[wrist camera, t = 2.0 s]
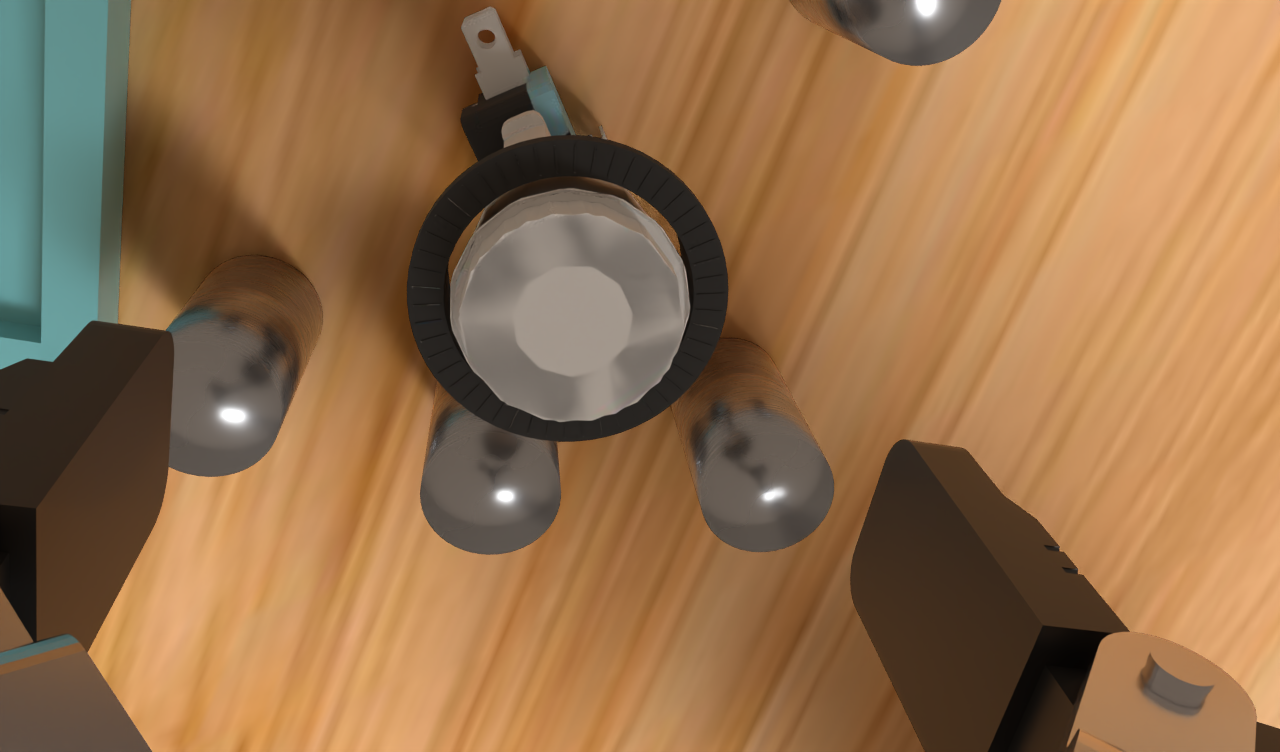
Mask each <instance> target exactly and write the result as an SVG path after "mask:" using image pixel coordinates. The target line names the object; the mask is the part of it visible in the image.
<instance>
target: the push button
mask: <svg viewBox="0 0 1280 752" xmlns="http://www.w3.org/2000/svg"><path fill="white" fill-rule="evenodd" d="M461 30H462V32H463V34H464V36H465V38H466V41H467V43H468V45H469V47H470V49H471V52H472V54H473V56H474V58H475V60H476V63H477V65H478V67H477V68H476V70H477V72H478V73H477V74H475V77H476V79H477V81H478V84H479V86H480V88H481V90H482V92H483V93H481V94H479V98H478V102H477V103H475V104H473V105H470V106H468V107H466V108H463V110H462V114H461V119H460V120H461V124H462V127H463V130H464V132H465V134H466V136H467V139H468V141H469V143H470V145H471V147H472V149H473V151H474V153H475V156H476V158H477V160H478V162H477V163H475V164H474V165H472V166H471V167H470V168H468V169H467V170H466V171H465V172H463V173H462V174H461V175H460V176H458V177H457V178H456V179H455V180H454V181H453V182H452V183H451V184H450V185H449V186H448V187H447V188H446V190H445V191H444V192H443V193H442V195H441V196H440V197H439V198H438V200H437V201H436V202H435V204H434V205H433V207H432V209H431V210H430V212H429V213H428V215H427V217H426V219H425V221H424V223H423V225H422V227H421V229H420V231H419V234H418V237H417V240H416V243H415V245H414V249H413V252H412V257H411V261H410V266H409V271H408V281H407V305H408V313H409V319H410V323H411V328H412V332H413V335H414V338H415V341H416V343H417V346H418V349H419V351H420V353H421V355H422V357H423V359H424V361H425V363H426V364H427V366H428V367H429V369H430V371H431V372H432V374H433V375H434V377H435V378H436V379H437V380H438V382H439V383H440V384H441V385H442V387H443V388H444V389H445V390H446V391H447V392H448V393H449V394H450V395H451V396H452V397H453V398H454V399H455V400H456V401H457V402H458V403H460V404H461V405H462V406H463V407H465V408H466V409H467V410H468V411H470V412H471V413H473V414H474V415H476V416H477V417H479V418H481V419H482V420H484V421H486V422H488V423H490V424H492V425H494V426H496V427H498V428H501V429H503V430H506V431H508V432H511V433H514V434H517V435H521V436H524V437H529V438H534V439H539V440H547V441H558V442H574V441H585V440H593V439H598V438H603V437H607V436H611V435H614V434H618V433H621V432H624V431H626V430H629V429H631V428H634V427H636V426H638V425H640V424H642V423H644V422H646V421H648V420H650V419H651V418H653V417H655V416H656V415H658V414H659V413H661V412H662V411H664V410H665V409H666V408H668V407H669V406H670V405H671V404H673V403H674V402H675V401H677V400H678V399H679V398H680V397H681V396H682V395H683V394H684V393H685V392H686V391H687V390H688V389H689V388H690V386H691V385H692V384H693V383H694V382H695V380H696V379H697V378H698V377H699V375H700V374H701V372H702V371H703V369H704V368H705V366H706V365H707V363H708V361H709V360H710V358H711V356H712V354H713V352H714V350H715V348H716V345H717V343H718V340H719V338H720V335H721V332H722V328H723V325H724V321H725V316H726V310H727V303H728V274H727V268H726V262H725V257H724V253H723V249H722V246H721V242H720V240H719V238H718V235H717V233H716V230H715V228H714V226H713V224H712V222H711V220H710V219H709V217H708V215H707V213H706V211H705V210H704V208H703V206H702V205H701V204H700V202H699V201H698V199H697V198H696V196H695V195H694V194H693V193H692V191H691V190H690V189H689V188H688V187H687V186H686V185H685V184H684V182H683V181H682V180H680V179H679V178H678V177H677V176H676V175H675V174H674V173H673V172H672V171H671V170H669V169H668V168H666V167H665V166H664V165H662V164H661V163H659V162H658V161H657V160H655V159H653V158H651V157H650V156H648V155H646V154H644V153H643V152H641V151H638V150H636V149H634V148H631V147H629V146H627V145H624V144H621V143H617V142H614V141H611V140H608V139H607V137H606V135H605V132H604V130H603V127H602V125H601V126H599V129H600V132H601V135H602V138H597V137H593V136H592V135H588V136H580V135H576V134H575V132H574V130H573V127H572V125H571V123H570V120H569V118H568V115H567V113H566V111H565V108H564V106H563V104H562V101H561V99H560V97H559V94H558V92H557V90H556V87H555V85H554V83H553V80H552V78H551V76H550V73H549V71H548V69H547V67H546V66H544V67H541V68H539V69H537V70H534V71H532V72H530V71H529V68H528V66H527V64H526V62H525V59H524V57H523V55H522V52H521V50H520V49H519V50H517V51H513V48H512V46H511V44H510V41H509V39H508V37H507V35H506V32H505V30H504V28H503V25H502V23H501V21H500V18H499V16H498V14H497V12H496V9H495V8H493V7H488V8H485V9H483V10H481V11H478V12H476V13H474V14H472V15H469V16H467V17H465V18H464V21H463V24H462V26H461ZM482 30H489V31H491V32H493V34H494V35H495V39H494V41H493V42H491V43H484V42H482V41H481V40H480V39H479V37H478V33H479V32H480V31H482ZM628 190H629V191H632V192H633V193H635V194H636V195H638V196H640V197H641V198H643V199H645V200H646V201H647V202H648V203H650V204H651V205H652V206H653V207H655V208H656V209H657V210H658V211H659V212H660V213H661V214H662V215H663V216H664V217H665V218H666V219H667V221H668V222H669V223H670V225H671V226H672V227H673V229H674V230H675V231H676V233H677V236H678V240H679V244H680V251H681V257H680V255H679V254H678V252H677V250H676V249H675V247H674V245H673V244H672V242H671V241H670V239H669V237H668V236H667V234H666V233H665V231H664V229H663V228H662V227H661V226H660V225H659V224H658V223H657V222H656V221H655V220H653V219H652V218H650V217H649V216H648V215H647V213H646V212H645V211H644V210H643V209H642V207H641V206H640V205H639V204H638V202H637V201H636V200H635V199H634V197H633V196H632V195H631V194H630V192H629V191H628ZM483 208H485V209H484V211H483V213H482V216H481V218H480V220H479V222H478V225H477V227H476V229H475V232H474V234H473V236H472V237H471V238H470V240H469V242H468V244H467V246H466V248H465V250H464V252H463V254H462V256H461V258H460V260H459V262H458V264H457V266H456V268H455V270H454V272H453V276H452V280H451V288H450V284H449V274H448V262H449V258H450V256H451V253H452V251H453V249H454V247H455V244H456V243H457V241H458V239H459V237H460V236H461V234H462V232H463V231H464V230H465V228H466V227H467V226H468V224H469V223H470V222H471V221H472V219H473V218H474V217H475V216H476V215H477V214H478V213H479V212H480V211H481V210H482V209H483Z"/></svg>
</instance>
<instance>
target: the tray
mask: <svg viewBox="0 0 1280 752" xmlns="http://www.w3.org/2000/svg"><path fill="white" fill-rule="evenodd" d="M130 15H131V0H0V369H3V368H5V367H7V366H10V365H12V364H15V363H17V362H19V361H22V360H24V359H27V358H29V359H36V360H44V361H51V362H53V361H54V360H55V359H56V358H57V357H58V356H59V355H60V354H61V353H62V351H63V350H64V349H65V348H66V347H67V346H68V345H69V344H70V343H71V342H72V340H73V339H74V338H75V337H76V336H77V335H78V334H79V333H80V332H81V331H82V329H83V328H84V327H85V326H86V325H87V324H88V323H89V322H90V321H93V320H95V321H102V322H109V323H116V324H118V304H119V280H120V256H121V231H122V207H123V183H124V159H125V135H126V111H127V87H128V63H129V39H130Z"/></svg>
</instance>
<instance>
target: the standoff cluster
mask: <svg viewBox="0 0 1280 752" xmlns="http://www.w3.org/2000/svg"><path fill="white" fill-rule="evenodd" d="M790 1H791V3H792V5H793V6H794V7H795V8H796V10H797V11H798V12H799V13H800V14H801V15H802V16H804V17H805V18H806V19H808V20H809V21H811V22H813V23H815V24H817V25H819V26H821V27H823V28H825V29H827V30H829V31H831V32H833V33H835V34H837V35H839V36H841V37H843V38H846V39H848V40H850V41H852V42H854V43H856V44H858V45H860V46H862V47H864V48H866V49H868V50H870V51H872V52H874V53H876V54H878V55H880V56H883V57H885V58H887V59H889V60H891V61H893V62H897V63H900V64H905V65H911V66H922V65H930V64H935V63H939V62H942V61H945V60H947V59H950V58H952V57H954V56H955V55H957V54H959V53H961V52H962V51H964V50H965V49H966V48H968V47H969V46H970V45H971V44H973V43H974V42H975V41H976V40H977V39H978V38H979V37H980V36H981V34H982V33H983V32H984V31H985V30H986V28H987V27H988V25H989V24H990V23H991V21H992V19H993V18H994V16H995V14H996V12H997V10H998V7H999V5H1000V2H1001V0H790ZM322 324H323V313H322V306H321V302H320V299H319V297H318V294H317V293H316V291H315V289H314V287H313V286H312V284H311V283H310V282H309V281H308V279H307V278H306V277H305V276H304V275H303V274H302V273H300V272H299V271H298V270H297V269H295V268H294V267H292V266H291V265H289V264H287V263H285V262H283V261H280V260H278V259H275V258H271V257H267V256H259V255H248V256H241V257H237V258H233V259H231V260H228V261H226V262H224V263H222V264H221V265H219V266H218V267H216V268H215V269H214V270H213V271H212V272H211V273H210V274H209V275H208V276H207V277H206V279H205V280H204V281H203V282H202V284H201V285H200V286H199V288H198V289H197V290H196V292H195V293H194V294H193V295H192V297H191V298H190V299H189V301H188V302H187V303H186V305H185V306H184V307H183V309H182V310H181V311H180V312H179V314H178V315H177V316H176V318H175V319H174V320H173V322H172V323H171V324H170V325H169V327H168V328H167V329H166V331H169V332H170V333H171V334H172V337H173V342H174V371H173V390H172V410H171V429H170V449H169V466H168V467H170V468H173V469H175V470H178V471H180V472H184V473H187V474H191V475H196V476H206V477H216V476H225V475H230V474H234V473H237V472H240V471H242V470H245V469H247V468H249V467H250V466H252V465H254V464H255V463H256V462H258V461H259V460H260V459H261V458H262V457H263V456H265V455H266V454H267V452H268V451H269V450H270V448H271V447H272V445H273V443H274V441H275V439H276V437H277V435H278V432H279V430H280V428H281V425H282V423H283V421H284V418H285V416H286V414H287V411H288V409H289V406H290V404H291V402H292V399H293V397H294V395H295V392H296V390H297V388H298V385H299V383H300V380H301V378H302V376H303V373H304V371H305V369H306V366H307V364H308V362H309V359H310V357H311V354H312V352H313V350H314V347H315V345H316V343H317V340H318V338H319V335H320V332H321V329H322ZM671 408H672V412H673V415H674V418H675V422H676V425H677V428H678V432H679V435H680V439H681V442H682V445H683V449H684V452H685V455H686V459H687V462H688V465H689V469H690V472H691V476H692V479H693V482H694V486H695V489H696V492H697V496H698V499H699V502H700V506H701V509H702V513H703V516H704V518H705V521H706V523H707V524H708V526H709V528H710V529H711V530H712V531H713V533H714V534H715V535H716V536H717V537H718V538H720V539H721V540H722V541H724V542H725V543H727V544H729V545H731V546H733V547H735V548H738V549H741V550H746V551H751V552H769V551H776V550H779V549H783V548H786V547H789V546H791V545H793V544H795V543H797V542H799V541H801V540H802V539H804V538H806V537H807V536H808V535H809V534H811V533H812V532H813V531H814V530H815V529H816V528H817V527H818V526H819V525H820V523H821V522H822V521H823V519H824V518H825V516H826V515H827V513H828V511H829V508H830V506H831V503H832V499H833V494H834V480H833V474H832V471H831V469H830V466H829V464H828V463H827V461H826V459H825V457H824V455H823V453H822V451H821V449H820V448H819V446H818V444H817V442H816V440H815V438H814V436H813V435H812V433H811V431H810V429H809V427H808V425H807V423H806V421H805V420H804V418H803V416H802V414H801V412H800V410H799V408H798V407H797V405H796V403H795V401H794V399H793V397H792V395H791V394H790V392H789V390H788V388H787V386H786V384H785V382H784V380H783V379H782V377H781V375H780V373H779V371H778V369H777V367H776V366H775V364H774V362H773V360H772V359H771V357H770V356H769V355H768V354H767V353H766V352H765V351H764V350H763V349H761V348H760V347H759V346H757V345H755V344H753V343H751V342H749V341H746V340H742V339H736V338H721V339H719V340H718V343H717V345H716V348H715V350H714V352H713V354H712V356H711V358H710V360H709V361H708V363H707V365H706V366H705V368H704V369H703V371H702V372H701V374H700V375H699V377H698V378H697V379H696V380H695V382H694V383H693V384H692V385H691V386H690V388H689V389H688V390H687V391H686V392H685V393H684V394H683V395H682V396H681V397H680V398H679V399H678V400H677V401H675V402H674V403H673V404H671ZM420 499H421V506H422V510H423V512H424V515H425V517H426V519H427V521H428V523H429V524H430V526H431V527H432V528H433V530H434V531H435V532H436V533H437V534H438V535H439V536H440V537H441V538H443V539H444V540H445V541H447V542H448V543H450V544H452V545H453V546H455V547H457V548H460V549H462V550H465V551H468V552H472V553H477V554H488V555H490V554H503V553H508V552H512V551H515V550H518V549H521V548H523V547H525V546H527V545H529V544H531V543H532V542H534V541H535V540H537V539H538V538H539V537H540V536H541V535H542V534H544V533H545V531H546V530H547V529H548V528H549V527H550V525H551V524H552V522H553V521H554V519H555V517H556V515H557V512H558V509H559V506H560V499H561V487H560V474H559V461H558V448H557V441H547V440H539V439H534V438H529V437H524V436H521V435H517V434H514V433H511V432H508V431H506V430H503V429H501V428H498V427H496V426H494V425H492V424H490V423H488V422H486V421H484V420H482V419H481V418H479V417H477V416H476V415H474V414H473V413H471V412H470V411H468V410H467V409H466V408H465V407H463V406H462V405H461V404H460V403H458V402H457V401H456V400H455V399H454V398H453V397H452V396H451V395H450V394H449V393H448V392H447V391H446V390H445V389H444V388H443V387H442V385H441V384H440V383H439V382H438V380H437V383H436V390H435V396H434V403H433V410H432V416H431V423H430V429H429V436H428V442H427V449H426V456H425V462H424V469H423V475H422V482H421V490H420Z"/></svg>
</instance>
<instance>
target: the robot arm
mask: <svg viewBox="0 0 1280 752" xmlns="http://www.w3.org/2000/svg"><path fill="white" fill-rule="evenodd" d="M173 371H174V342H173V337H172V334H171V333H170V332H169V331H164V330H157V329H150V328H143V327H136V326H130V325H123V324H116V323H109V322H102V321H95V320H93V321H90V322H89V323H88V324H87V325H86V326H85V327H84V328H83V329H82V331H81V332H80V333H79V334H78V335H77V336H76V337H75V338H74V339H73V340H72V342H71V343H70V344H69V345H68V346H67V347H66V348H65V349H64V350H63V351H62V353H61V354H60V355H59V356H58V357H57V358H56V359H55V360H54V361H53V362H51V361H44V360H36V359H29V358H27V359H24V360H22V361H19V362H17V363H15V364H12V365H10V366H7V367H5V368H3V369H0V752H152V751H151V749H150V748H149V746H148V745H147V743H146V741H145V740H144V738H143V737H142V735H141V734H140V732H139V731H138V729H137V728H136V726H135V725H134V723H133V722H132V720H131V719H130V717H129V716H128V714H127V713H126V711H125V710H124V708H123V707H122V705H121V703H120V702H119V700H118V699H117V697H116V696H115V694H114V693H113V691H112V690H111V688H110V687H109V685H108V684H107V682H106V681H105V679H104V678H103V676H102V675H101V673H100V672H99V670H98V669H97V667H96V665H95V664H94V662H93V661H92V659H91V658H90V656H89V655H88V653H87V652H88V650H89V649H90V647H91V645H92V643H93V641H94V639H95V637H96V635H97V633H98V631H99V630H100V628H101V626H102V624H103V622H104V620H105V618H106V616H107V614H108V613H109V611H110V609H111V607H112V605H113V603H114V601H115V599H116V597H117V595H118V594H119V592H120V590H121V588H122V586H123V584H124V582H125V580H126V578H127V577H128V575H129V573H130V571H131V569H132V567H133V565H134V563H135V561H136V559H137V558H138V556H139V554H140V552H141V550H142V548H143V546H144V544H145V542H146V540H147V539H148V537H149V535H150V533H151V531H152V529H153V527H154V525H155V523H156V521H157V518H158V515H159V512H160V509H161V506H162V502H163V498H164V494H165V488H166V483H167V476H168V466H169V449H170V429H171V410H172V390H173ZM850 584H851V594H852V599H853V603H854V605H855V608H856V610H857V612H858V614H859V616H860V618H861V620H862V622H863V624H864V626H865V628H866V630H867V633H868V635H869V637H870V639H871V641H872V643H873V645H874V647H875V649H876V651H877V653H878V655H879V657H880V659H881V661H882V664H883V666H884V668H885V670H886V672H887V674H888V676H889V678H890V680H891V682H892V684H893V686H894V688H895V690H896V692H897V695H898V697H899V699H900V701H901V703H902V705H903V707H904V709H905V711H906V713H907V715H908V717H909V719H910V721H911V723H912V726H913V728H914V730H915V732H916V734H917V736H918V738H919V740H920V742H921V744H922V746H923V748H924V750H925V752H1280V729H1278V728H1275V727H1272V726H1269V725H1265V724H1262V723H1259V722H1256V720H1257V716H1256V709H1255V707H1254V704H1253V702H1252V700H1251V699H1250V697H1249V696H1248V694H1247V693H1246V692H1245V690H1244V689H1243V688H1242V687H1241V686H1240V685H1239V684H1238V683H1237V682H1236V681H1235V680H1234V679H1233V678H1232V677H1231V676H1230V675H1228V674H1227V673H1226V672H1225V671H1223V670H1222V669H1221V668H1220V667H1218V666H1217V665H1215V664H1214V663H1212V662H1211V661H1209V660H1208V659H1206V658H1204V657H1203V656H1201V655H1199V654H1197V653H1196V652H1194V651H1192V650H1190V649H1188V648H1185V647H1183V646H1181V645H1179V644H1176V643H1174V642H1171V641H1169V640H1166V639H1163V638H1160V637H1157V636H1152V635H1148V634H1144V633H1136V632H1130V631H1129V630H1128V629H1127V627H1126V626H1125V625H1124V624H1123V623H1122V621H1121V620H1120V619H1119V618H1118V617H1117V615H1116V614H1115V613H1114V612H1113V611H1112V609H1111V608H1110V607H1109V606H1108V605H1107V603H1106V602H1105V601H1104V600H1103V599H1102V597H1101V596H1100V595H1099V594H1098V592H1097V591H1096V590H1095V589H1094V588H1093V586H1092V585H1091V584H1090V583H1089V582H1088V580H1087V579H1086V578H1085V577H1084V576H1083V575H1080V574H1078V568H1077V567H1076V566H1075V565H1074V564H1073V562H1072V561H1071V560H1070V559H1069V558H1068V556H1067V555H1066V554H1065V553H1064V552H1059V545H1058V544H1057V543H1056V542H1055V541H1054V539H1053V538H1052V537H1051V536H1050V535H1049V533H1048V532H1047V531H1046V530H1045V529H1044V527H1043V526H1042V525H1041V524H1040V523H1039V521H1038V520H1037V519H1035V518H1034V517H1033V516H1031V515H1030V514H1029V513H1027V512H1026V511H1024V510H1023V509H1022V508H1020V507H1019V506H1018V505H1016V504H1015V503H1013V502H1012V501H1011V500H1009V499H1008V498H1006V497H1005V496H1004V495H1003V494H1002V493H1001V492H1000V490H999V489H998V488H997V487H996V485H995V484H994V483H993V482H992V481H991V479H990V478H989V477H988V476H987V474H986V473H985V472H984V471H983V469H982V468H981V467H980V466H979V464H978V463H977V462H976V461H975V460H974V458H973V457H972V456H971V455H970V453H969V452H968V451H967V450H965V449H963V448H959V447H952V446H945V445H938V444H932V443H925V442H918V441H911V440H904V439H903V440H900V441H898V442H897V443H896V444H895V445H894V446H893V447H892V448H891V450H890V452H889V454H888V456H887V458H886V461H885V463H884V466H883V469H882V472H881V475H880V478H879V481H878V484H877V487H876V490H875V492H874V495H873V498H872V501H871V504H870V507H869V510H868V513H867V516H866V519H865V522H864V525H863V527H862V530H861V533H860V536H859V539H858V542H857V545H856V548H855V551H854V555H853V559H852V565H851V575H850Z"/></svg>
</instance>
